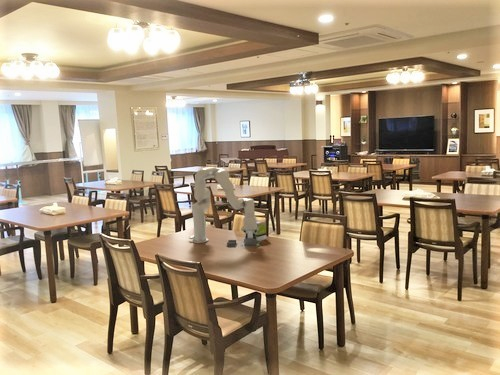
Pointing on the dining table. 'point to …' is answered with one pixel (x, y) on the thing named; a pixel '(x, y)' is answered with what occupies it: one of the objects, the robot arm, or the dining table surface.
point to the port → (250, 242)
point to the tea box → (260, 230)
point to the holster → (231, 243)
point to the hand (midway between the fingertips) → (250, 238)
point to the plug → (250, 233)
